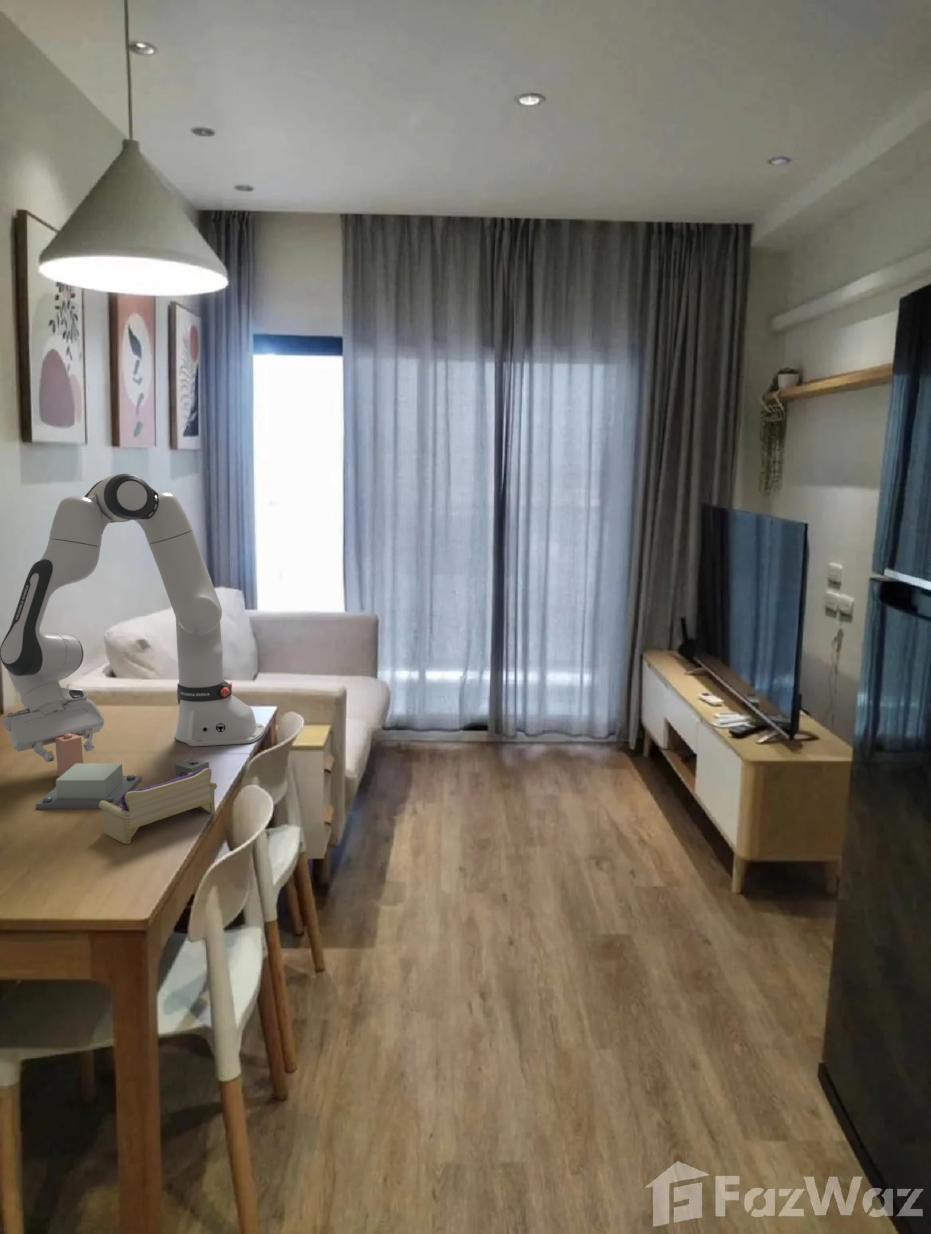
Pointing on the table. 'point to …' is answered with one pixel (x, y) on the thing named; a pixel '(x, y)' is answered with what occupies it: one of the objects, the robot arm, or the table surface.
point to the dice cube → (190, 767)
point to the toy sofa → (158, 804)
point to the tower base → (89, 802)
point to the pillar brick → (68, 752)
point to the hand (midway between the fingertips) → (70, 755)
